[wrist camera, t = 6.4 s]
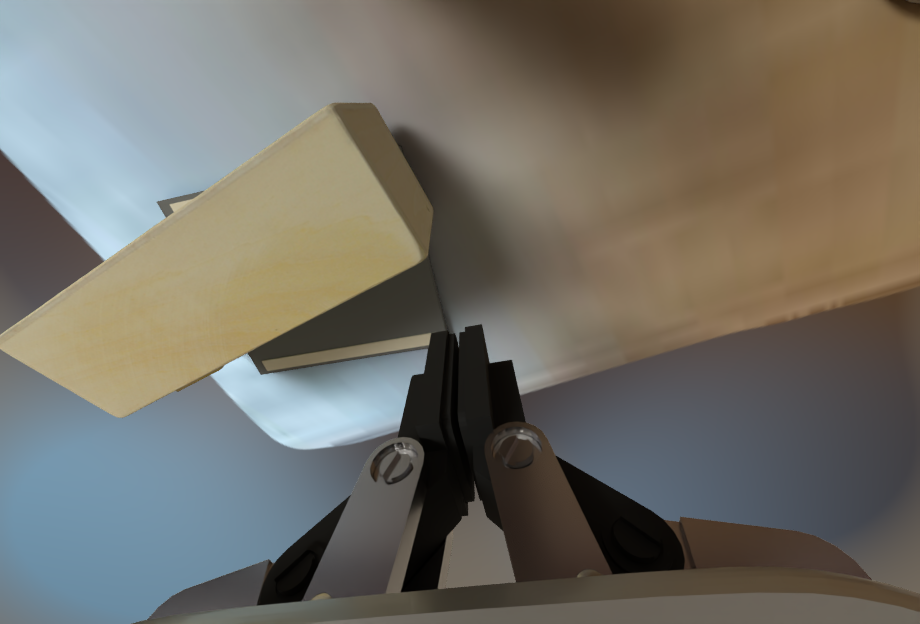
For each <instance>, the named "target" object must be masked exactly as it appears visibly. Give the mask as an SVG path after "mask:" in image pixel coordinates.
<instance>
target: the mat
mask: <svg viewBox="0 0 920 624" xmlns="http://www.w3.org/2000/svg"><path fill="white" fill-rule="evenodd" d="M398 147H399V149H400V150H401V152H402V154H403V151H402V147H401V146H398ZM403 156H404V155H403ZM202 192H204V191H202ZM202 192H197V193H193V194H189V195H184V196H180V197H175V198H171V199H167V200H162V201H158V202H157V203H158V205H159V207H160V208H161V210H162V212H163V213H164V215H165V217H166V218H167V217H168V216H169V215H171V214H172V213H174V212H175V211H177V210H178V209H179V208H181V207H182V206H184V205H185V204H187V203H188V202H190V201H191V200H192V199H194V198H195V197H197V196H198V195H200V194H201V193H202ZM446 330H447V326H446V322H445V318H444V314H443V310H442V306H441V302H440V298H439V294H438V290H437V286H436V282H435V278H434V274H433V270H432V266H431V262H430V258H429V255H428V256H427V258H426V259H424V260H423V261H422V262H421V263H419V264H417V265H416V266H414V267H412V268H410V269H408V270H406V271H404V272H402V273H400V274H398V275H396V276H394V277H393V278H390V279H388V280H386V281H384V282H382V283H380V284H378V285H377V286H375V287H373V288H371V289H369V290H367V291H365V292H363V293H361V294H359V295H357V296H355V297H353V298H351V299H349V300H347V301H345V302H344V303H342V304H340V305H338V306H336V307H334V308H332V309H330V310H328V311H326V312H324V313H323V314H321V315H319V316H317V317H315V318H313V319H311V320H309V321H307V322H305V323H303V324H301V325H299V326H297V327H295V328H293V329H292V330H290V331H288V332H286V333H284V334H282V335H280V336H278V337H277V338H275V339H273V340H271V341H269V342H267V343H265V344H263V345H261V346H259V347H257V348H256V349H254V350H252V351H250V352H248V354H249V356H250V357H251V359H252V361H253V362H254V364H255V366H256V367H257V369H258V371H259V372H260V374H261V375H262V374H268V373H274V372H281V371H287V370H293V369H299V368H306V367H312V366H318V365H324V364H331V363H337V362H343V361H349V360H355V359H362V358H368V357H374V356H380V355H387V354H393V353H399V352H405V351H412V350H418V349H424V348H429V342H430V337H431V333H434V332H440V331H446Z"/></svg>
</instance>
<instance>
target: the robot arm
mask: <svg viewBox="0 0 920 624" xmlns="http://www.w3.org/2000/svg"><path fill="white" fill-rule="evenodd" d="M906 1H909V2H912V3H920V0H906ZM474 481H475V484H476V488H477V492H478V495H479V499H480V500H482V501H483V505H484V509H485V512H486V516H487V517H488V518H489V519H490V520H491V521H492V522H493V523H495V524H496V525H497V526H498V527H499V528H500V529H502V530H503V531H504V535H505V539H506V543H507V548H508V551H509V556H510V560H511V564H512V568H513V572H514V576H515V580H516V583H505V584H492V585H482V586H469V587H458V588H448V589H447V588H446V582H447V576H448V570H449V563H450V557H451V551H452V545H453V529H454V527H455V526H456V525H457V524H458V523H459V522H460V521H461V519H462V516H468V502H472V501H474V499H475V497H474V496H475V492H474ZM445 588H446V589H445ZM133 624H920V594H919V593H916V592H912V591H909V590H906V589H903V588H899V587H896V586H893V585H890V584H886V583H881V582H877V581H873V580H872V579H871V578H870V577H869V576H868V575H867V573H866V572H865V571H864V570H863V569H862V568H861V567H860V566H859V565H858V563H857V562H856V561H855V560H854V559H852V558H851V557H850V556H848V555H847V554H845V553H844V552H843V551H842V550H840V549H839V548H838V547H836V546H834V545H832V544H831V543H829V542H827V541H824V540H822V539H821V538H819V537H816V536H814V535H810V534H806V533H802V532H799V531H792V530H784V529H776V528H768V527H760V526H752V525H743V524H735V523H727V522H718V521H711V520H702V519H694V518H686V517H680V521H679V522H676V521H668V520H663V519H662V518H660V517H659V516H658V515H656V514H655V513H654V512H652V511H651V510H649V509H647V508H645V507H644V506H642V505H640V504H639V503H637V502H635V501H634V500H632V499H630V498H628V497H627V496H625V495H623V494H621V493H620V492H618V491H616V490H614V489H613V488H611V487H609V486H607V485H606V484H604V483H602V482H601V481H599V480H597V479H595V478H594V477H592V476H590V475H588V474H587V473H585V472H583V471H581V470H580V469H578V468H576V467H574V466H573V465H571V464H569V463H568V462H566V461H564V460H562V459H561V458H559V457H557V456H555V454H554V452H553V450H552V448H551V446H550V444H549V442H548V439H547V438H546V437H545V435H544V433H543V432H542V431H541V430H540V429H538V428H537V427H536V426H534V425H531V424H529V423H526V422H525V417H524V413H523V408H522V403H521V399H520V394H519V390H518V385H517V381H516V376H515V372H514V367H513V363H512V360H507V361H501V362H495V363H489V358H488V353H487V348H486V343H485V338H484V333H483V328H482V324H481V325H475V326H469V327H465V332H460V334H459V346H458V342H457V338H456V335H455V333H454V334H449V331H448V330H446V331H440V332H434V333H431V337H430V342H429V348H428V354H427V360H426V365H425V371H424V374H419V375H413V376H412V378H411V381H410V386H409V390H408V395H407V399H406V404H405V408H404V412H403V417H402V421H401V426H400V430H399V435H398V438H394V439H392V440H389V441H387V442H385V443H383V444H382V445H380V446H379V447H378V448H377V449H376V450H375V451H374V452H373V453H372V454H371V455H370V457H369V458H368V460H367V462H366V463H365V466H364V468H363V470H362V472H361V474H360V476H359V479H358V481H357V483H356V485H355V487H354V489H353V492H352V494H351V495H350V496H349V497H348V498H347V499H346V500H344V501H343V502H342V503H341V504H340V505H338V506H337V507H336V508H335V509H334V510H333V511H331V513H329V514H328V515H327V516H326V517H324V518H323V519H322V520H321V521H320V522H319V523H317V524H316V525H315V526H314V527H313V528H312V529H310V530H309V531H308V532H307V533H306V534H305V535H303V536H302V537H301V538H300V539H299V540H298V541H297V542H295V543H294V544H293V545H292V546H291V547H290V548H288V549H287V550H286V551H285V552H284V553H283V554H282V555H281V556H280V557H279V558H278V559H277V561H276V562H275V563H272V562H271V561H270V560H269V559H268V560H265V561H263V562H260V563H257V564H254V565H252V566H249V567H246V568H243V569H240V570H238V571H235V572H232V573H229V574H226V575H223V576H221V577H218V578H215V579H212V580H210V581H207V582H204V583H201V584H198V585H196V586H193V587H190V588H187V589H185V590H183V591H181V592H179V593H177V594H175V595H173V596H171V597H170V598H169V599H168V600H167V601H165V602H164V603H163V604H162V605H161V606H159V607H158V608H157V609H156V611H155V612H154V613H153V614H152V615H151V616H150V617H149V618H148V619H147V620H144V621H140V622H136V623H133Z"/></svg>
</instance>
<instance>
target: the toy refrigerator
mask: <svg viewBox="0 0 920 624" xmlns="http://www.w3.org/2000/svg"><path fill="white" fill-rule="evenodd" d="M432 220H433V207H432V205H431V203H430V201H429V200H428V198H427V196H426V194H425V193H424V191H423V189H422V187H421V186H420V184H419V182H418V180H417V179H416V177H415V175H414V173H413V171H412V170H411V168H410V166H409V164H408V163H407V161H406V159H405V157H404V156H403V154H402V152H401V150H400V149H399V147H398V145H397V143H396V142H395V140H394V138H393V136H392V134H391V133H390V131H389V129H388V127H387V126H386V124H385V122H384V120H383V119H382V117H381V115H380V113H379V112H378V110H377V108H376V107H375V106H374V105H373V104H372V103H332V104H329V105H327V106H326V107H324V108H322V109H321V110H319V111H318V112H316V113H315V114H313V115H312V116H310V117H309V118H307V119H306V120H305V121H303V122H302V123H300V124H299V125H297V126H296V127H295V128H293V129H292V130H290V131H289V132H288V133H286V134H285V135H283V136H282V137H281V138H279V139H278V140H276V141H275V142H274V143H272V144H271V145H269V146H268V147H266V148H265V149H264V150H262V151H261V152H259V153H258V154H256V155H255V156H254V157H252V158H251V159H249V160H248V161H246V162H245V163H244V164H242V165H241V166H239V167H238V168H237V169H235V170H234V171H232V172H231V173H229V174H228V175H227V176H225V177H224V178H222V179H221V180H220V181H218V182H217V183H215V184H214V185H212V186H211V187H210V188H208V189H207V190H205V191H204V192H202V193H201V194H200V195H198V196H197V197H195V198H194V199H192V200H191V201H190V202H188V203H187V204H185V205H184V206H182V207H181V208H179V209H178V210H177V211H175V212H174V213H172V214H171V215H169V216H168V217H167V218H165V219H164V220H162V221H161V222H159V223H158V224H157V225H155V226H154V227H152V228H151V229H149V230H148V231H147V232H145V233H144V234H142V235H141V236H140V237H138V238H137V239H135V240H134V241H133V242H131V243H130V244H128V245H127V246H126V247H124V248H123V249H121V250H120V251H119V252H117V253H116V254H114V255H113V256H112V257H110V258H109V259H107V260H106V261H105V262H103V263H102V264H100V265H99V266H98V267H96V268H95V269H93V270H92V271H90V272H89V273H88V274H86V275H85V276H83V277H82V278H80V279H79V280H77V281H76V282H75V283H73V284H72V285H70V286H69V287H68V288H67V289H65V290H63V291H62V292H60V293H59V294H58V295H56V296H55V297H53V298H52V299H51V300H49V301H48V302H46V303H45V304H44V305H42V306H41V307H40V308H38V309H37V310H35V311H34V312H32V313H31V314H30V315H28V316H27V317H25V318H24V319H22V320H21V321H19V322H18V323H17V324H15V325H14V326H12V327H11V328H10V329H8V330H7V331H5V332H4V333H2V334H1V335H0V349H1V350H2V351H4V352H6V353H7V354H9V355H11V356H12V357H14V358H16V359H17V360H19V361H21V362H22V363H24V364H26V365H27V366H29V367H31V368H33V369H34V370H36V371H38V372H40V373H41V374H43V375H45V376H46V377H48V378H50V379H51V380H53V381H55V382H57V383H58V384H60V385H62V386H64V387H65V388H67V389H69V390H71V391H72V392H74V393H76V394H77V395H79V396H81V397H82V398H84V399H86V400H87V401H89V402H91V403H92V404H94V405H96V406H98V407H99V408H101V409H103V410H104V411H106V412H108V413H110V414H111V415H114V416H116V417H118V418H122V417H126V416H128V415H130V414H132V413H134V412H136V411H137V410H139V409H141V408H143V407H145V406H147V405H149V404H151V403H153V402H154V401H156V400H158V399H160V398H162V397H164V396H166V395H168V394H170V393H172V392H174V391H177V392H178V391H180V390H182V389H184V388H186V387H188V386H190V385H192V384H193V383H196V382H197V381H199V380H201V379H203V378H205V377H207V376H209V375H211V374H213V373H215V372H217V371H219V370H220V369H222V368H223V366H224V365H225V364H227V363H229V362H231V361H233V360H235V359H237V358H239V357H241V356H243V355H244V354H246V353H248V352H250V351H252V350H254V349H256V348H257V347H259V346H261V345H263V344H265V343H267V342H269V341H271V340H273V339H275V338H277V337H278V336H280V335H282V334H284V333H286V332H288V331H290V330H292V329H293V328H295V327H297V326H299V325H301V324H303V323H305V322H307V321H309V320H311V319H313V318H315V317H317V316H319V315H321V314H323V313H324V312H326V311H328V310H330V309H332V308H334V307H336V306H338V305H340V304H342V303H344V302H345V301H347V300H349V299H351V298H353V297H355V296H357V295H359V294H361V293H363V292H365V291H367V290H369V289H371V288H373V287H375V286H377V285H378V284H380V283H382V282H384V281H386V280H388V279H390V278H393V277H394V276H396V275H398V274H400V273H402V272H404V271H406V270H408V269H410V268H412V267H414V266H416V265H417V264H419V263H421V262H422V261H423V260H424V259H426V258H427V256H428V251H429V242H430V234H431V227H432Z"/></svg>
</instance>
